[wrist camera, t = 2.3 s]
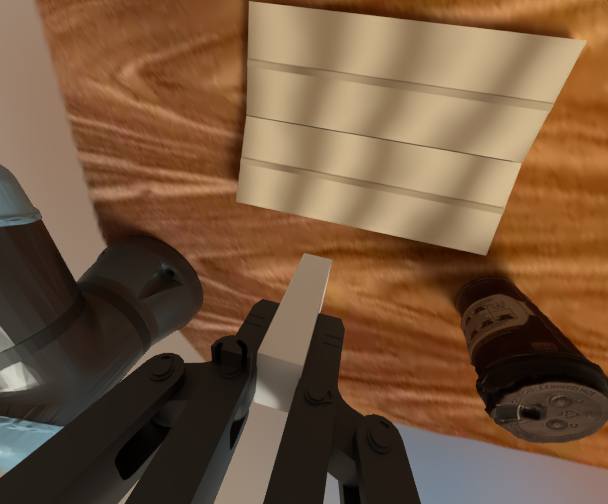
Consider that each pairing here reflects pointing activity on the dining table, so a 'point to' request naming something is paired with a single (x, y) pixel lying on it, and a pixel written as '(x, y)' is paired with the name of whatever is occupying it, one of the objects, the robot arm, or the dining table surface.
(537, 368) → the coffee cup
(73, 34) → the dining table surface
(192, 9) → the dining table surface
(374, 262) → the dining table surface
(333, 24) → the laid board
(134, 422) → the robot arm
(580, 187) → the dining table surface
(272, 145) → the plank
